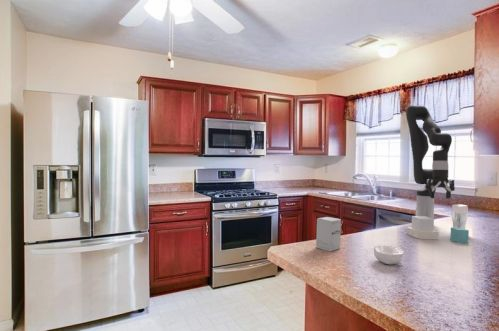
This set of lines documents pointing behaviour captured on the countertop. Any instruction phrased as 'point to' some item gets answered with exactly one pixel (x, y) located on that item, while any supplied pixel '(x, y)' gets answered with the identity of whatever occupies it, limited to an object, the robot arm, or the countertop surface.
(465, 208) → the beer glass
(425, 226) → the grey cube
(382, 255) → the white bowl
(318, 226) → the supplement box
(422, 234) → the cream slab
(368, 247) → the countertop surface
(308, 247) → the countertop surface
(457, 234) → the teal block
